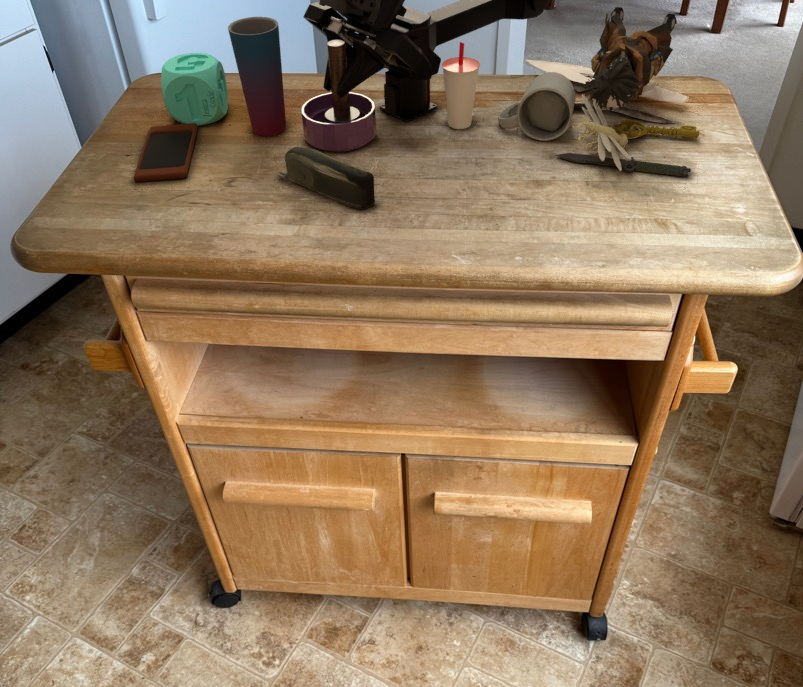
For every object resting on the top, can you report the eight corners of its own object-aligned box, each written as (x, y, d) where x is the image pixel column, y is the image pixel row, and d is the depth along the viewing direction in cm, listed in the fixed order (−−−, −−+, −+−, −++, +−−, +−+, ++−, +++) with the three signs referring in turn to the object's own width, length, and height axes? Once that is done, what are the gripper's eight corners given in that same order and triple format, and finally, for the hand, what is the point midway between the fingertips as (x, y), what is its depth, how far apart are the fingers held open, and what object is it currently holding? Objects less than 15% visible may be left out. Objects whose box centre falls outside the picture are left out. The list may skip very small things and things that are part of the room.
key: (700, 123, 107) (699, 139, 103) (698, 131, 108) (697, 148, 104) (614, 115, 110) (611, 131, 106) (613, 124, 110) (609, 139, 107)
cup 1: (284, 140, 110) (268, 35, 100) (239, 137, 111) (220, 33, 101) (298, 119, 115) (284, 17, 104) (255, 116, 116) (238, 15, 106)
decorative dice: (170, 127, 113) (157, 75, 108) (179, 103, 119) (167, 53, 114) (223, 125, 114) (213, 72, 108) (230, 101, 119) (221, 51, 114)
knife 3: (692, 162, 100) (691, 176, 98) (691, 167, 100) (689, 181, 99) (556, 146, 104) (552, 159, 102) (555, 151, 105) (551, 164, 103)
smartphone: (151, 131, 113) (134, 183, 102) (149, 125, 112) (132, 176, 101) (198, 127, 113) (187, 178, 102) (197, 122, 113) (185, 172, 102)
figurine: (685, -2, 115) (672, 57, 93) (664, 83, 124) (647, 156, 101) (612, -11, 118) (582, 44, 96) (595, 73, 126) (564, 142, 104)
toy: (550, 115, 108) (566, 84, 104) (605, 126, 110) (621, 96, 107) (580, 179, 98) (599, 147, 95) (639, 189, 101) (659, 158, 98)
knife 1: (677, 110, 111) (678, 105, 110) (514, 68, 124) (515, 63, 124) (693, 96, 114) (695, 91, 114) (533, 56, 128) (534, 51, 127)
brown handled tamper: (364, 126, 111) (358, 36, 102) (357, 142, 107) (350, 51, 98) (331, 124, 111) (322, 35, 102) (322, 140, 108) (312, 49, 99)
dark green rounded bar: (377, 169, 93) (285, 136, 100) (363, 180, 92) (269, 146, 98) (378, 204, 97) (289, 170, 103) (364, 215, 95) (274, 180, 101)
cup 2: (463, 112, 115) (465, 32, 107) (485, 125, 111) (489, 43, 103) (434, 122, 113) (434, 41, 105) (455, 135, 109) (457, 53, 101)
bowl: (345, 114, 116) (343, 85, 112) (391, 136, 110) (389, 107, 107) (290, 137, 110) (286, 107, 107) (335, 162, 105) (332, 131, 102)
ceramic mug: (573, 117, 112) (579, 66, 107) (568, 143, 106) (574, 91, 101) (502, 112, 115) (505, 62, 109) (494, 138, 109) (496, 86, 104)
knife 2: (672, 136, 109) (676, 120, 112) (674, 127, 108) (678, 111, 111) (546, 114, 114) (553, 99, 117) (547, 105, 113) (554, 91, 116)
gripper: (306, -62, 100) (251, 45, 102) (404, -34, 90) (341, 85, 92) (354, -15, 110) (304, 83, 112) (448, 16, 99) (391, 123, 101)
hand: (332, 92), depth 104 cm, fingers closed on brown handled tamper, 2 cm apart
